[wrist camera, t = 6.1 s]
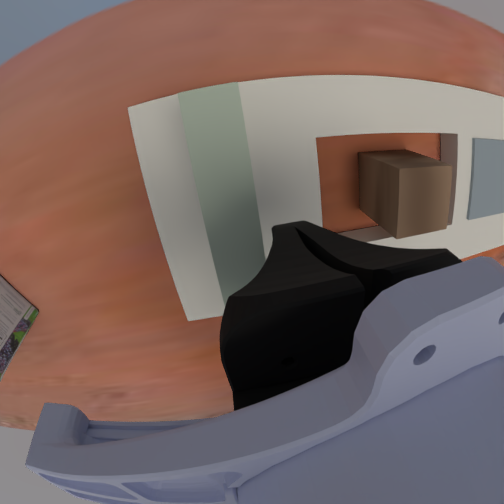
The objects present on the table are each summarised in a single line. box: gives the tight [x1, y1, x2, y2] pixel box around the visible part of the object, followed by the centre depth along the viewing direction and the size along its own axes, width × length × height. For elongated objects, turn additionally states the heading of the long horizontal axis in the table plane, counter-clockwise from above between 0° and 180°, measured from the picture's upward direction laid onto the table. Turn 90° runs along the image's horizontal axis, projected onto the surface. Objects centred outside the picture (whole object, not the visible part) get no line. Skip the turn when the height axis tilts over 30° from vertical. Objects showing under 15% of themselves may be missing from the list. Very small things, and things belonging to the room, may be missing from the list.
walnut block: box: [358, 150, 452, 239], centre depth 16 cm, size 4×4×5 cm
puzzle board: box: [128, 75, 504, 321], centre depth 17 cm, size 30×14×2 cm, turn 98°
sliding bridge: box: [178, 82, 266, 306], centre depth 14 cm, size 2×13×5 cm, turn 8°
